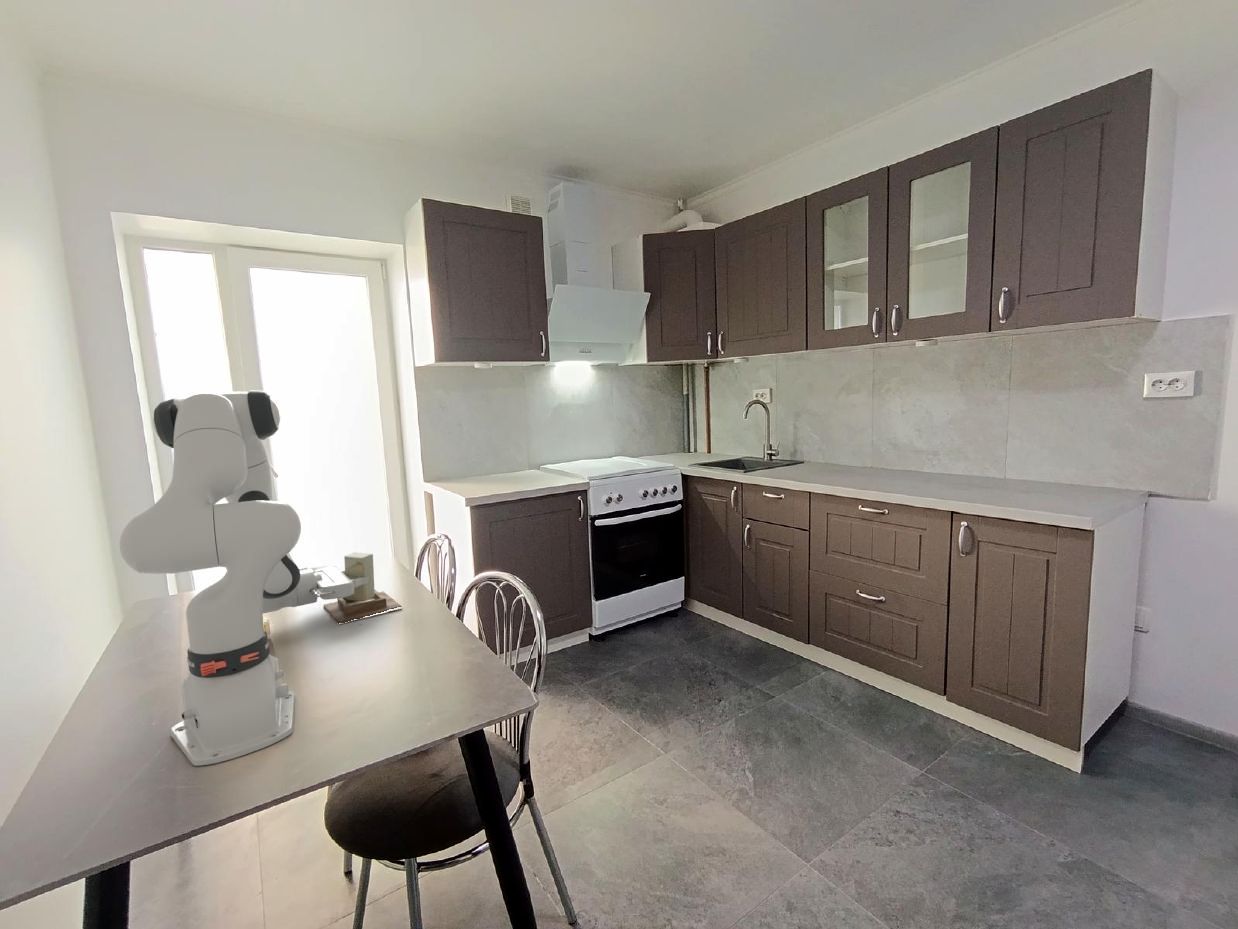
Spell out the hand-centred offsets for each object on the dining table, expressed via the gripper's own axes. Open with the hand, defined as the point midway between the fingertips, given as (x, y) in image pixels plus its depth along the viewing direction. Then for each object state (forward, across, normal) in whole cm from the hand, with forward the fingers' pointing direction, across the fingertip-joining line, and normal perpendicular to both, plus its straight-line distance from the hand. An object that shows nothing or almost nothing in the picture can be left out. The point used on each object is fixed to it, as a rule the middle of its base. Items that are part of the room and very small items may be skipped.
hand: (362, 575), depth 157 cm
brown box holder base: (-1, 0, +9) cm, 9 cm away
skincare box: (-1, 0, +6) cm, 6 cm away
